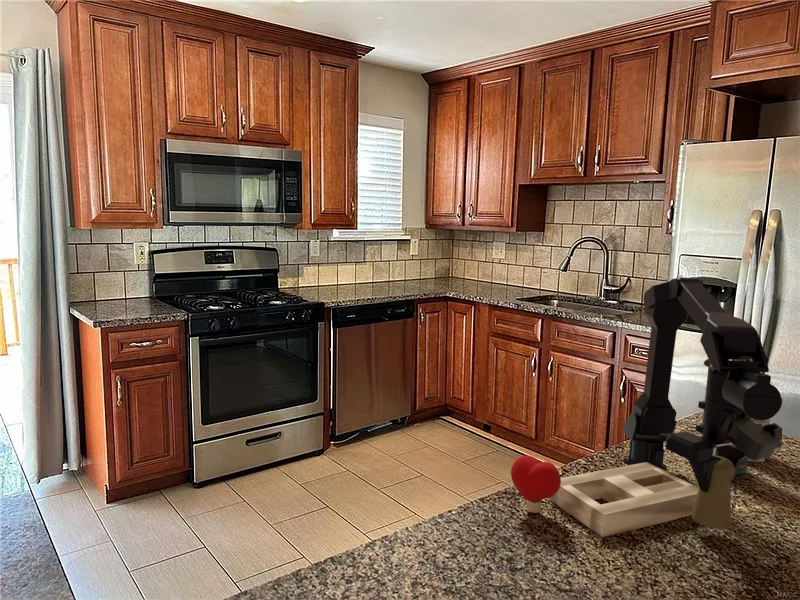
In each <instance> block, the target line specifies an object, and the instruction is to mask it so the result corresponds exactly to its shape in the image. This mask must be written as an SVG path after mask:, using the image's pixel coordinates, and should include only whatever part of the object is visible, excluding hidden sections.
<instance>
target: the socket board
mask: <svg viewBox="0 0 800 600" xmlns="http://www.w3.org/2000/svg"><path fill="white" fill-rule="evenodd" d="M560 478H561V484H560V488H559V490H558V491H557V493H556V494H555V495H553V496H552V497H549V501H550V502H552V503H554V504H555V505H556V506H558V508H560V509H562V510H563V511H565V512H566V513H567V514H569V515H570V516H572V517H574V519H576V520H577V521H578V522H581V524H583V525H584V526H586V527H588V528H589V529H590V530H591V531H593V532H594V533H596V534H597V535H599V536H600V537H601V538H605V537H609V536H613V535H617V534H621V533H625V532H629V531H633V530H637V529H641V528H645V527H650V526H653V525H657V524H662V523H666V522H670V520H671V521H675V520H677V519H678V518H679V519H682V518H681V517H683V518H686V517H685V516H687V517H690V516H689V515H691V516H692V512H693V508H694V505H695V501H696V497H697V493H698V490H699V486H695V485H694V484H692V483H689V481H688V482H687V481H686V480H684V479H682V478H679V477H677V476H675V475H674V474H672V473H669V471H665V470H664V469H660V468H658V467H656V466H654V465H652V464H650V463H648V462H645V463H639V464H634V465H630V464H628V465H624V466H619V467H613V468H608V469H602V470H598V471H591V472H586V473H581V474H577V475H576V474H575V475H570V476H564V477H560ZM601 498H602V500H604V499H605V500H604V501H605V502H607V503H603V504H600V502H598V501H596V500H600V499H601ZM679 519H678V520H679Z"/></svg>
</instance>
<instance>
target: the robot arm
mask: <svg viewBox="0 0 800 600" xmlns="http://www.w3.org/2000/svg"><path fill="white" fill-rule="evenodd" d="M643 294H644V295H643V305H644V314H645V316H646V319H647V321H648V322H649V324H650V326H651V327H650V328H651V329H650V337H649V342H648V343H649V344H648V345H649V346H648V351H647V352H648V353H647V361H646V369H645V380H644V387H643V392H642V393H641V394H640V395H639V397H638V398H637V399H636V400H635V401H634V403H633V407H632V412H631V413H630V414H629V416H628V417H627V419H626V420H625V422H624V423H623V433H624V435H626V437H627V438H628V439H629V440H630V441H629V452H628V457H625V458H623V460H622V461H623V462H625V463H626V464H628V465H634V464H639V463H645V462H648V463H650V464H652V465H654V466H656V467H658V468H660V469H662V470H664V469H666V468H667V464H665V463H664V458H665V450H667V451H669V452H671V453H674V454H676V455H678V456H680V457H682V458H685V459H687V462H688V463H689V465H690V468H691V470H692V472H693V475H694V477H695V479H696V482H697V484H698V488H699V487H700V490H701V491H703V492H708V489H709V485H710V481H711V476H712V471H713V466H714V464H716V463H718V462H719V461H721V460H722V459H721V458H718V457H716V456H715V453H716V449H717V452H718V456H721V457H724V458H727V459H728V460H730V461H731V462H732V463H733V465H734V467H735V473H734V476H733V478H732V479H731V480H730V485H731V484H732V482H733V480H734V478H735V477H736V476H735V475H736V473H737V471H738V469H739V467H740V465H741V464H742V462H743V461H744V459H745V458H747V457H748V458H749V459H751V460H759V459H762V458H765V459H770V458H771V457H772V454H773V453H774V451H775V450H776V449H780V448H782V446H783V443H782V441H783V428H782V427H781V426H780V425H778V424H777V423H776V422H773V423H770V424H767V425H765V426H763V427H761V426H762V424H761V423H760V424H756V423H754V422H753V421H751V418H753V419H755V420H767V419H770V420H771V419H772V418H773V417H775V416H776V415H777V414H778V413H779V411H780V410H781V408H782V405H783V398H782V395H781V392H780V391H779V389H778V388H777V387H776V386H774V385H773V384H772V382H771V380H772V376H771V375H770V374H768V373H769V372H770V369H769V365H768V363H769V358H768V357H767V354H766V351H765V349H764V346H763V344H762V341H761V337H760V334H759V333H758V331H757V329H756V328H755V327H754V326H753V325H751V324H750V323H749V322H747V321H746V320H744V319H742V318H739V317H737V316H734V315H731V314H729V313H728V312H727V311H726V310H725V309H724V308H723V306H722V305H721V304H720V303H719V302H718V301H717V300H716V299H715V297H713V295H712V294H711V293H710V292H709V290H708V289H707V288H705V285H704V282H703V279H700V278H698V277H682V276H677V277H674V278H672V279H670V280H668V281H666V282H663V283H662V282H661V283H660V284H656V285H651V286H650V287H649V288H648V289H647V290H646V291H645V292H644V293H643ZM688 315H689V316H690V318H691V319H692V320H693V322H695V324H696V325H697V327H698V328H699V329H700V331H701V333H702V334H701V337H700V340H699V342H700V344H701V346H702V348H703V350H704V353H705V354H706V356H707V358H706V359H705V360H704V361H703V365H704V366H705V367H707V376H706V377H707V378H706V387H705V397H704V400H702V401H700V400H699V401H698V409H700V410H701V409H702V410H703V414H702V423H700V424H696V426H695V432H697V433H700V434H702V435H703V437H702V436H699V435H697V434H695V433H692V432H690V431H687V430H686V431H685V430H683V431H679V432H678V431H677V432H675V430H676V427H677V422H676V421H677V420H676V418H677V411H676V409H675V408H674V407H673V404H672V403H671V401H670V399H669V394H670V387H671V380H672V379H671V378H672V370H673V362H674V354H675V347H676V339H677V332H678V330H679V329H680V328H681V326H682V325H684V323H685V322H686V321H687V320H688V317H689V316H688ZM664 445H665V449H664Z"/></svg>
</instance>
